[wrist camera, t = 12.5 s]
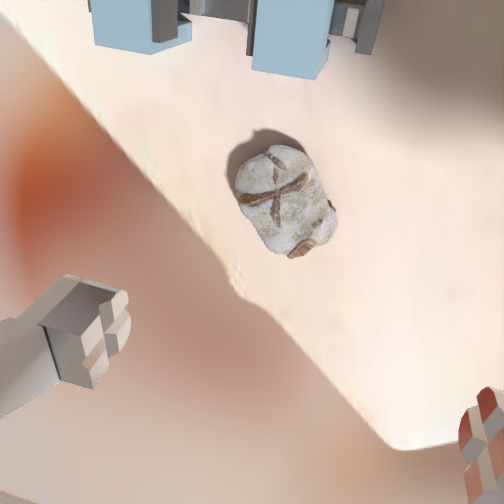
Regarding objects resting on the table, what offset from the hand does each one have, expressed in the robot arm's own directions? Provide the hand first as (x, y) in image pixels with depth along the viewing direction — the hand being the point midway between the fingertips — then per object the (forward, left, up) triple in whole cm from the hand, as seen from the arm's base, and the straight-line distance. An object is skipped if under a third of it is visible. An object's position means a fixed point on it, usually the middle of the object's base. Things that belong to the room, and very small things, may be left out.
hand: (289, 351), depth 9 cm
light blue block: (+17, -4, -31) cm, 36 cm away
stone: (+4, +13, -32) cm, 34 cm away
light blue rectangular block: (+5, -4, -31) cm, 32 cm away
